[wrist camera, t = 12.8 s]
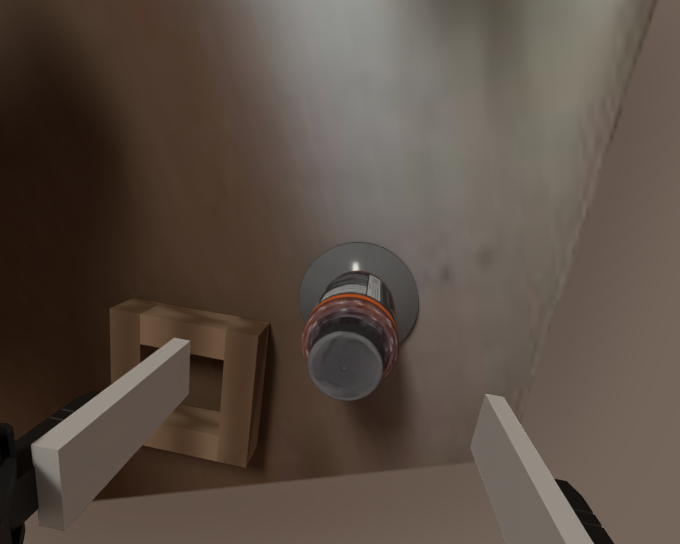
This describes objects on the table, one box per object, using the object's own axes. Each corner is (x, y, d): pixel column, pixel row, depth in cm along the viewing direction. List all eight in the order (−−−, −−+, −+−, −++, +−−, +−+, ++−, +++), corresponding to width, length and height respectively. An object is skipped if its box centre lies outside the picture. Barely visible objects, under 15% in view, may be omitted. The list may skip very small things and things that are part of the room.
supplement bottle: (391, 338, 29) (398, 426, 18) (322, 333, 30) (288, 415, 19) (396, 270, 28) (406, 319, 17) (323, 266, 28) (287, 311, 17)
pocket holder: (134, 418, 35) (112, 438, 32) (134, 297, 32) (109, 308, 29) (257, 444, 34) (246, 467, 31) (269, 322, 31) (258, 336, 28)
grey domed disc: (295, 342, 31) (293, 345, 30) (308, 233, 28) (306, 234, 28) (405, 363, 30) (406, 366, 29) (428, 252, 28) (429, 253, 27)
